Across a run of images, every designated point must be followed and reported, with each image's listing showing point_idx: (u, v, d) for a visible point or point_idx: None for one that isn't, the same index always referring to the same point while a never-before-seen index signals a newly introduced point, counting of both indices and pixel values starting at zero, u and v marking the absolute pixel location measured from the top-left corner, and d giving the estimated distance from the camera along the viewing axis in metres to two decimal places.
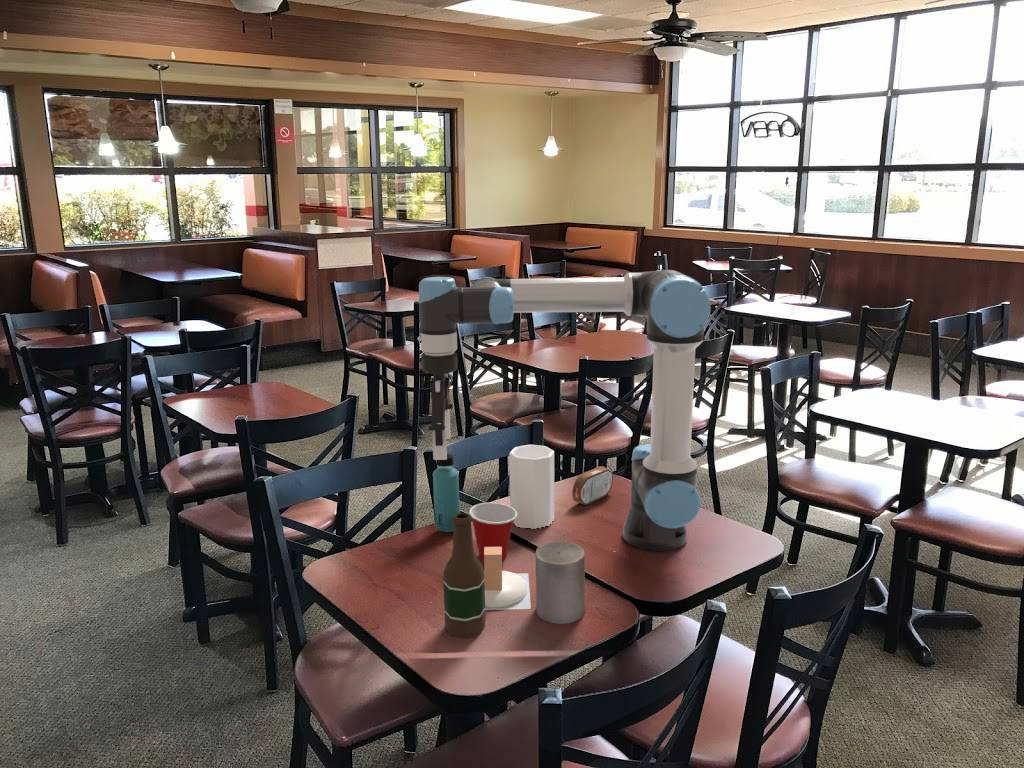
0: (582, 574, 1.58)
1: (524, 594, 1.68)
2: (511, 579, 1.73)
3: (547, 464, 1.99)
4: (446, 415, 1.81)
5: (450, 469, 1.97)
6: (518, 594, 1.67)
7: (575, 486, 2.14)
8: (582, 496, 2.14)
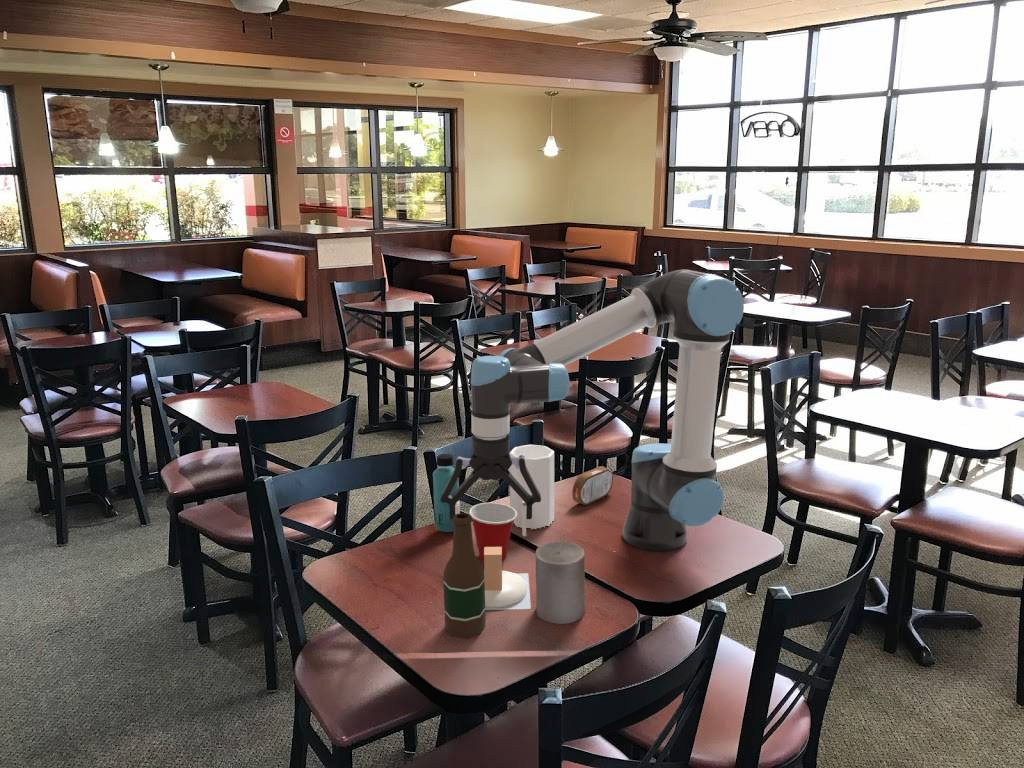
0: (582, 574, 1.58)
1: (524, 594, 1.68)
2: (511, 579, 1.73)
3: (547, 464, 1.99)
4: (522, 509, 1.65)
5: (450, 469, 1.97)
6: (518, 594, 1.67)
7: (575, 486, 2.14)
8: (582, 496, 2.14)
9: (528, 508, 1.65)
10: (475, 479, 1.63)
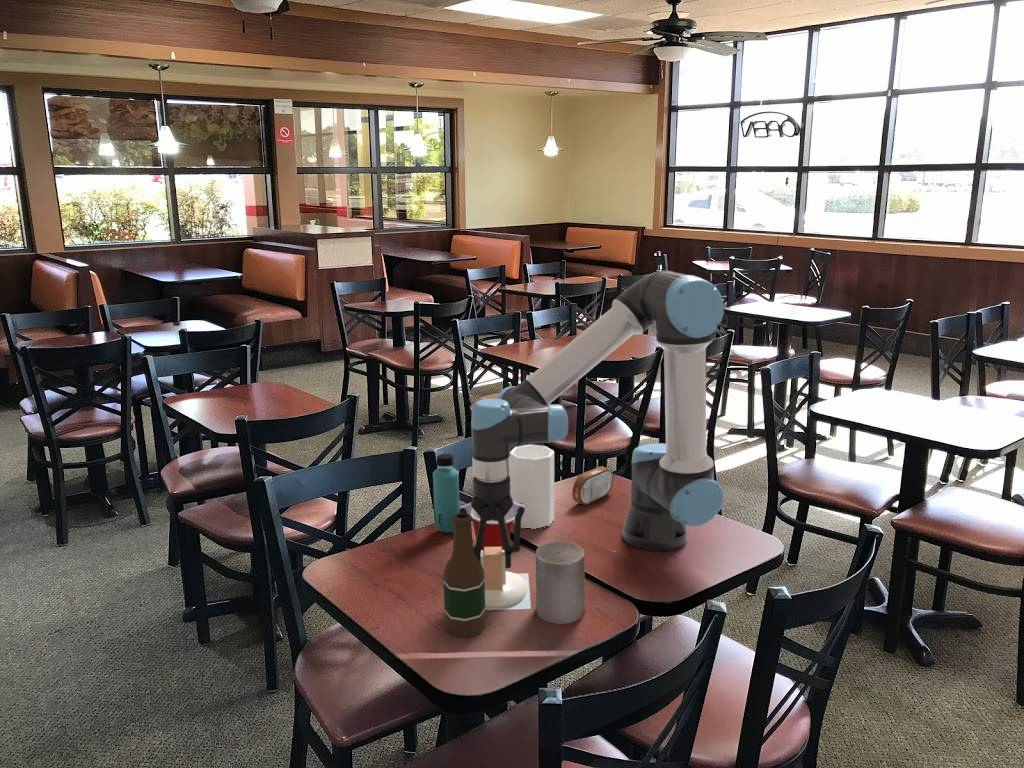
0: (582, 574, 1.58)
1: (524, 594, 1.68)
2: (511, 579, 1.73)
3: (547, 464, 1.99)
4: None
5: (450, 469, 1.97)
6: (518, 594, 1.67)
7: (575, 486, 2.14)
8: (582, 496, 2.14)
9: (507, 557, 1.68)
10: (484, 522, 1.65)
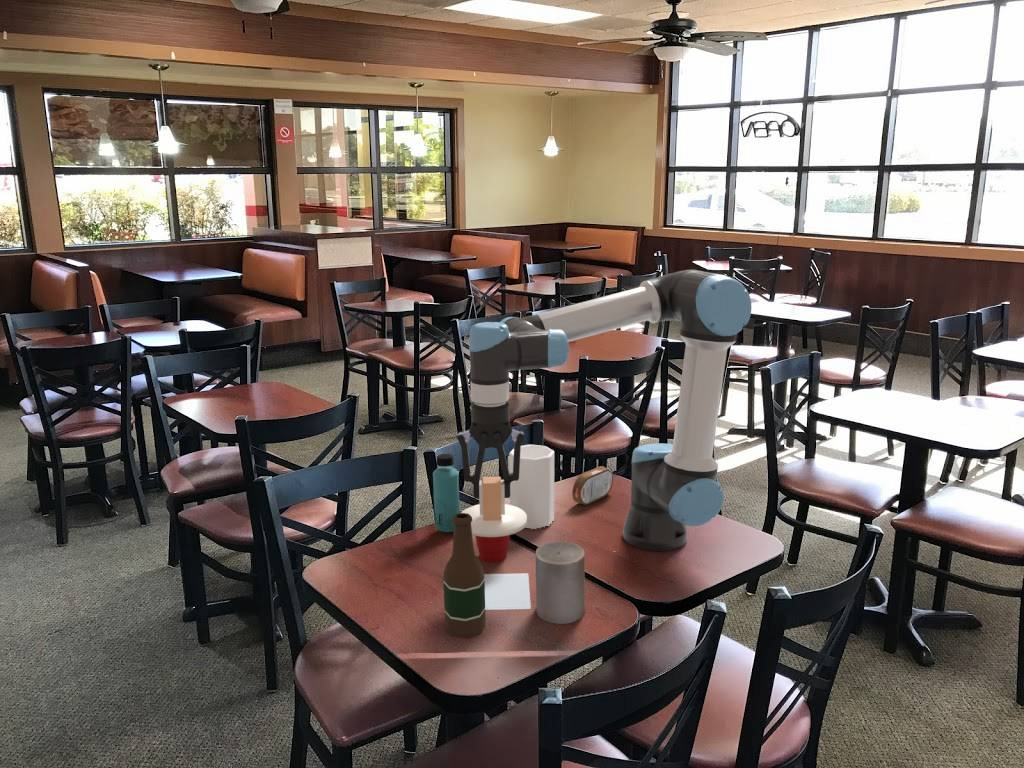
0: (582, 574, 1.58)
1: (524, 524, 1.64)
2: (511, 511, 1.69)
3: (547, 464, 1.99)
4: None
5: (450, 469, 1.97)
6: (518, 524, 1.63)
7: (575, 486, 2.14)
8: (582, 496, 2.14)
9: (506, 487, 1.64)
10: (482, 450, 1.61)
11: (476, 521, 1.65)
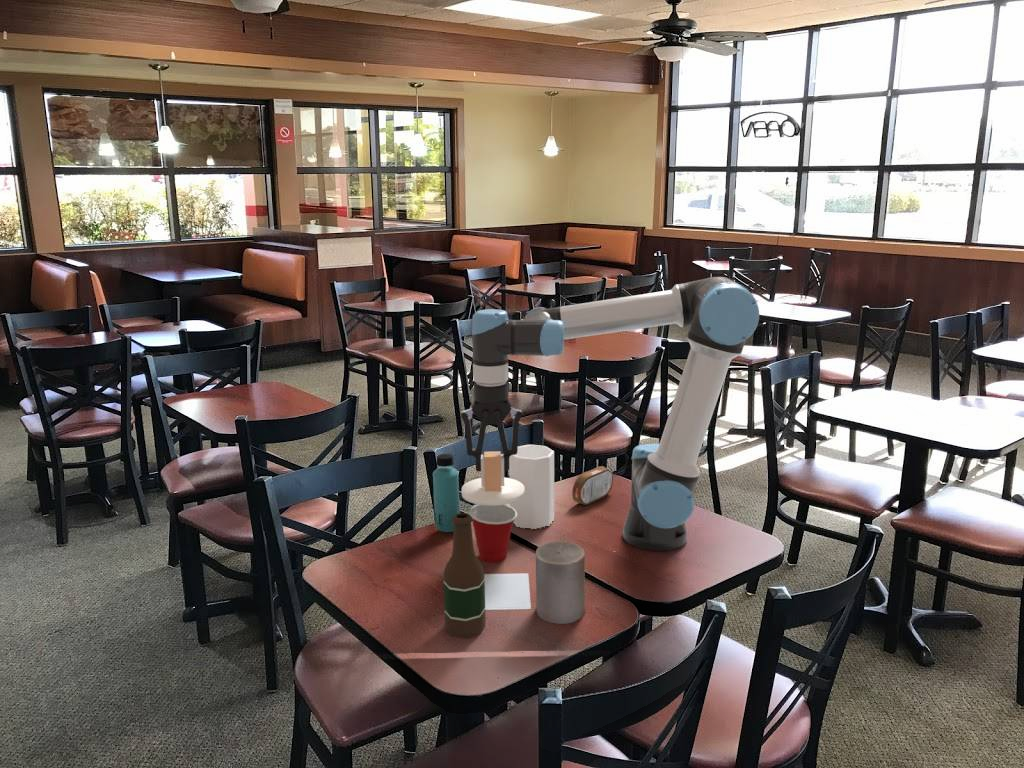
0: (582, 574, 1.58)
1: (522, 494, 1.79)
2: (510, 483, 1.85)
3: (547, 464, 1.99)
4: None
5: (450, 469, 1.97)
6: (516, 494, 1.78)
7: (575, 486, 2.14)
8: (582, 496, 2.14)
9: (505, 460, 1.80)
10: (484, 426, 1.76)
11: (478, 491, 1.80)
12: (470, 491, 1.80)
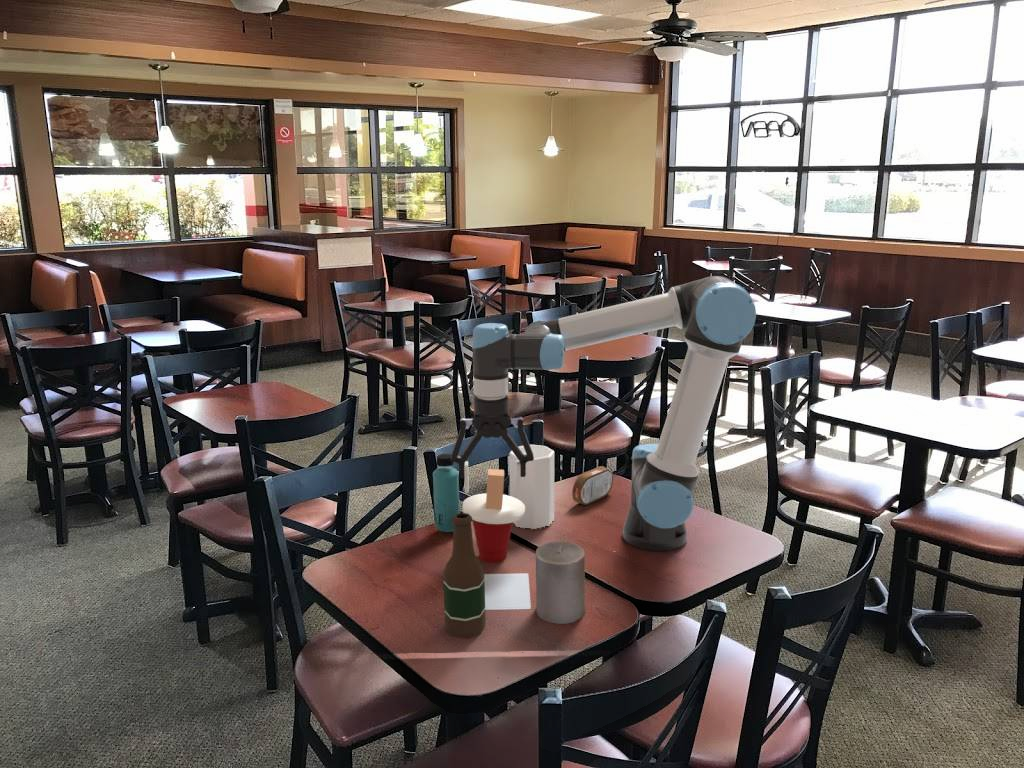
0: (582, 574, 1.58)
1: (522, 514, 1.81)
2: (510, 501, 1.86)
3: (547, 465, 1.99)
4: None
5: (450, 469, 1.97)
6: (517, 514, 1.80)
7: (575, 486, 2.14)
8: (582, 496, 2.14)
9: (522, 466, 1.80)
10: (479, 437, 1.77)
11: (479, 508, 1.81)
12: (471, 507, 1.81)
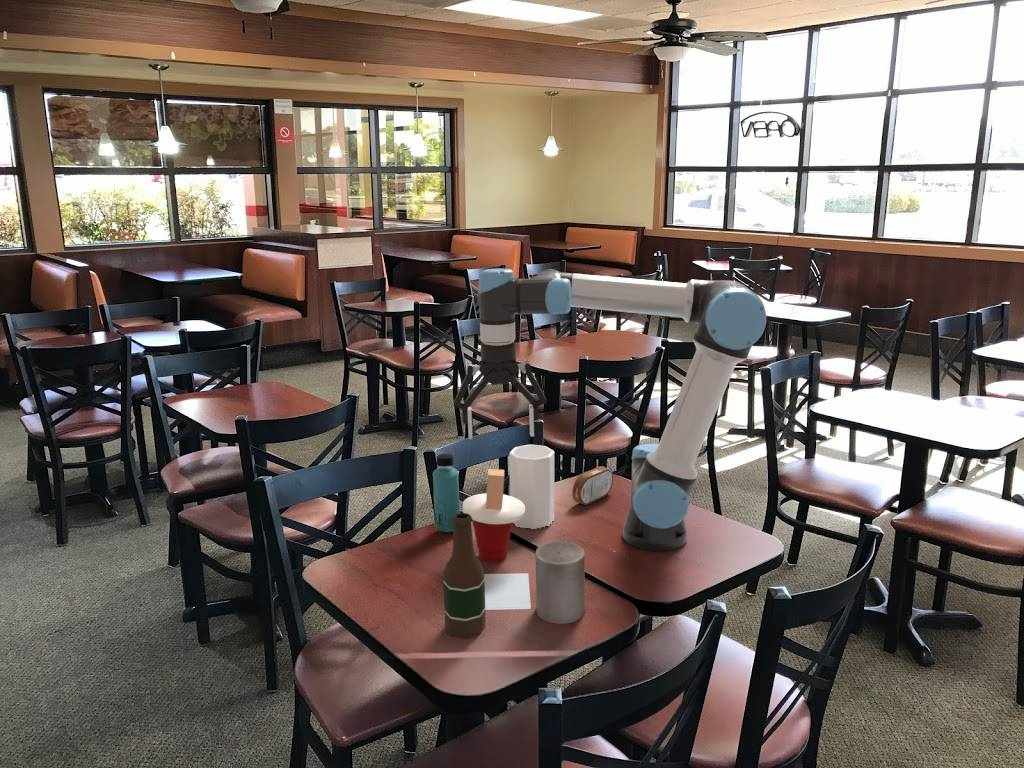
0: (582, 574, 1.58)
1: (522, 514, 1.81)
2: (510, 501, 1.86)
3: (547, 465, 1.99)
4: (529, 411, 1.79)
5: (450, 469, 1.97)
6: (517, 514, 1.80)
7: (575, 486, 2.14)
8: (582, 496, 2.14)
9: (535, 410, 1.79)
10: (485, 384, 1.76)
11: (479, 508, 1.81)
12: (471, 507, 1.81)
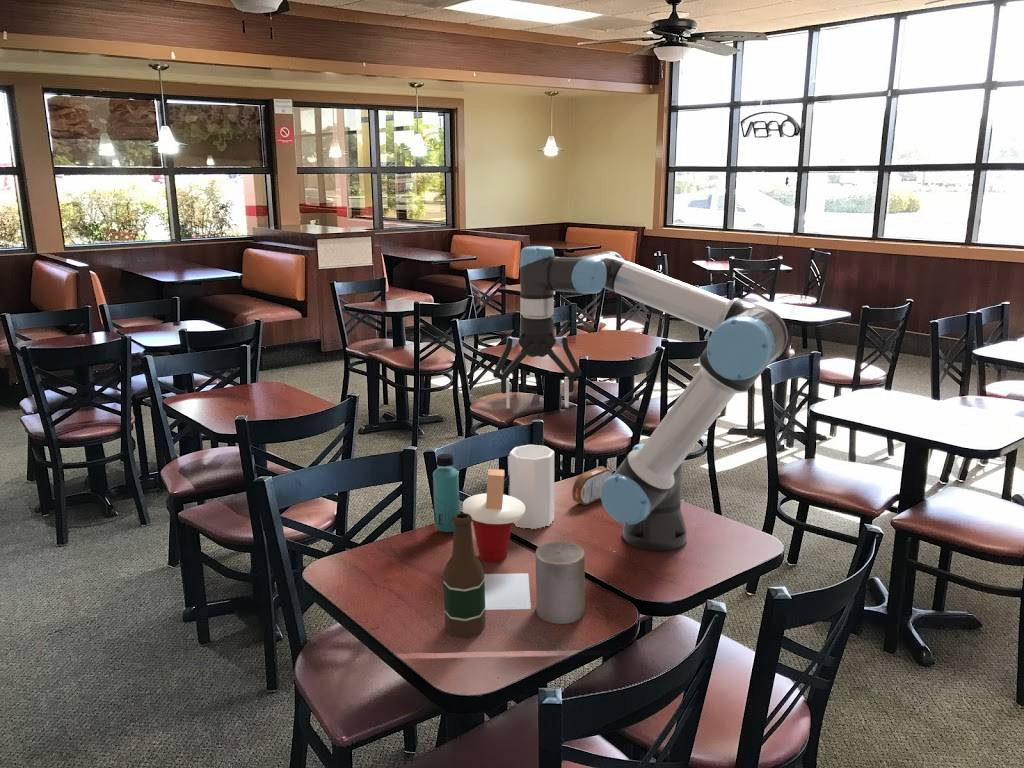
0: (582, 574, 1.58)
1: (522, 514, 1.81)
2: (511, 501, 1.86)
3: (547, 464, 1.99)
4: (565, 383, 1.88)
5: (450, 469, 1.97)
6: (517, 514, 1.80)
7: (575, 486, 2.14)
8: (582, 496, 2.14)
9: (570, 382, 1.88)
10: (524, 355, 1.85)
11: (479, 508, 1.81)
12: (471, 507, 1.81)
